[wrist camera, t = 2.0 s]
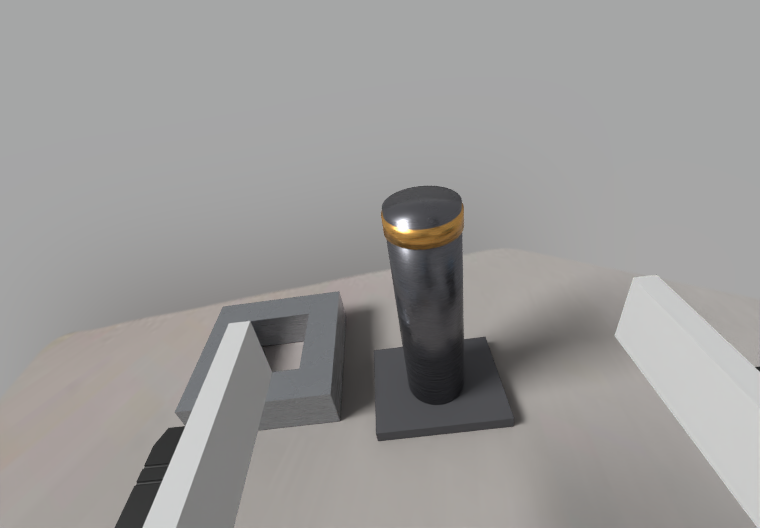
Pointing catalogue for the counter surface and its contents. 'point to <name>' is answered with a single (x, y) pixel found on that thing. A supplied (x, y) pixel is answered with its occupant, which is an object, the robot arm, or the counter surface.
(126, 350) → the counter surface
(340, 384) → the socket
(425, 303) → the cylinder
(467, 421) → the mount
